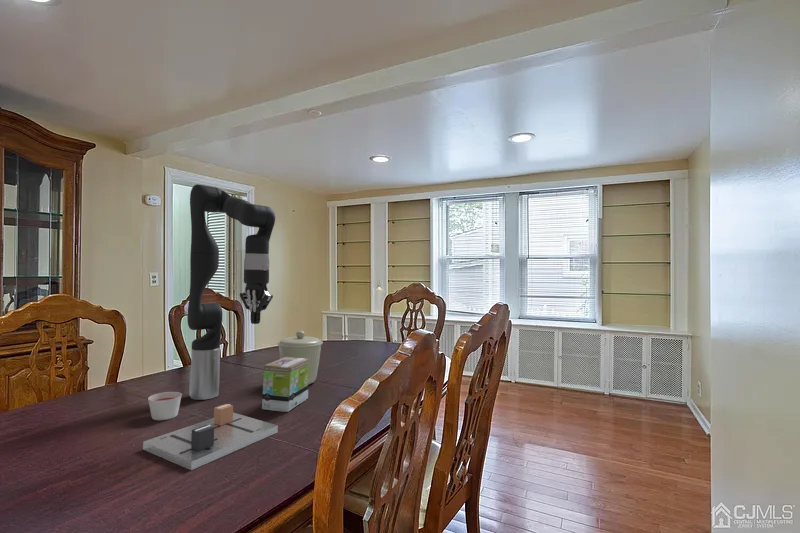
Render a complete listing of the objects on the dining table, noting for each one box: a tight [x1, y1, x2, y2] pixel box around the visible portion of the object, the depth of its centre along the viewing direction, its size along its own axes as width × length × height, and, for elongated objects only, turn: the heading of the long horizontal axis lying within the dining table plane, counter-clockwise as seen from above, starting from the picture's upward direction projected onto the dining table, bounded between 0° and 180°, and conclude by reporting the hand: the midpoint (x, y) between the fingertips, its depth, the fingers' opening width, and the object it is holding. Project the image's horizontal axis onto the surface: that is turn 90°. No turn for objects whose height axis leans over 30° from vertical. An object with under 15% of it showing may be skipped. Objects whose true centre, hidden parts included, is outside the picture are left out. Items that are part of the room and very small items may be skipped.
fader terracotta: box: [213, 403, 234, 426], centre depth 117 cm, size 3×4×5 cm
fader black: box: [191, 425, 214, 451], centre depth 101 cm, size 3×4×5 cm
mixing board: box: [142, 412, 279, 471], centre depth 110 cm, size 20×26×2 cm
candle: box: [147, 391, 183, 421], centre depth 127 cm, size 9×9×6 cm
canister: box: [276, 330, 324, 385], centre depth 167 cm, size 18×18×21 cm
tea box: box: [261, 357, 310, 413], centre depth 141 cm, size 15×10×15 cm
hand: (255, 323), depth 129 cm, fingers closed
